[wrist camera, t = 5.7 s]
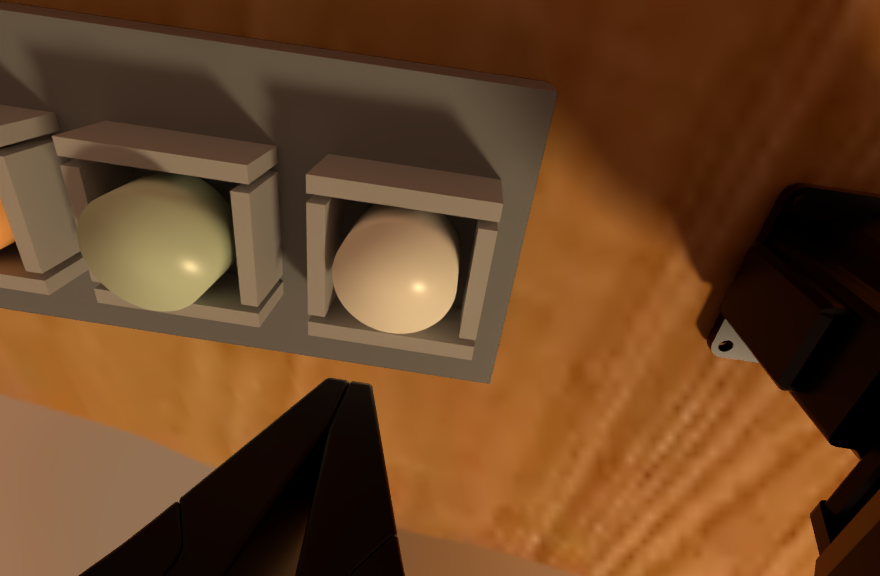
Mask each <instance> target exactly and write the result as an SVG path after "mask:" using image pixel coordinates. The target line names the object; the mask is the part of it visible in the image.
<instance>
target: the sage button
mask: <svg viewBox="0 0 880 576" xmlns="http://www.w3.org/2000/svg"><path fill="white" fill-rule="evenodd" d="M77 240H78V245H79V249H80V251H81V254H82V256H83V258H84V261H85V262H86V264H87V266H88V267H89V269H90V270H91V272H92V273H93V274H94V276H95V277H96V278H97V279H98V280H99V281H100V282H101V283H102V284H103V285H104V286H105V287H106V288H107V289H109V290H110V291H111V292H112V293H114V294H115V295H117V296H118V297H120V298H121V299H123V300H125V301H127V302H129V303H131V304H133V305H136V306H138V307H141V308H144V309H148V310H153V311H162V312H164V311H176V310H180V309H183V308H185V307H188V306H190V305H191V304H193V303H194V302H195V301H196V300H197V299H198V298H199V297H200V296H201V295H202V294H203V293H204V292H205V291H206V290H207V289H208V288H209V287H210V286H211V285H212V284H213V283H214V282H215V281H216V280H217V279H218V278H219V277H220V276H221V275H222V274H223V273H224V272H225V271H226V270H227V269H229V268H230V267H231V266H232V265H233V263H234V262H235V260H236V259H237V257H236V246H235V236H234V226H233V216H232V208H231V206H230V205H229V204H228V202H227V201H226V200H225V198H224V197H223V196H222V195H221V194H220V193H219V192H218V191H217V190H216V189H215V188H213V187H212V186H211V185H209V184H208V183H207V182H205V181H203V180H202V179H200V178H198V177H195V176H189V175H182V174H176V173H169V172H162V171H154V172H151V173H148V174H146V175H144V176H142V177H140V178H138V179H136V180H133V181H131V182H129V183H127V184H125V185H123V186H121V187H119V188H117V189H115V190H113V191H110V192H108V193H106V194H104V195H102V196H100V197H98V198H96V199H94V200H93V201H91V202H90V203H89V204H88V205H87V206H86V207H85V208H84V210H83V211H82V213H81V215H80V217H79V220H78V224H77Z"/></svg>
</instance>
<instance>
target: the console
mask: <svg viewBox="0 0 880 576" xmlns="http://www.w3.org/2000/svg"><path fill="white" fill-rule="evenodd" d="M557 93H558V92H557V90H556V89H555V88H554V87H553V86H552V85H551V83H550V82H545V81H538V80H531V79H525V78H518V77H511V76H504V75H498V74H491V73H484V72H477V71H470V70H464V69H457V68H450V67H443V66H436V65H430V64H423V63H416V62H409V61H403V60H396V59H389V58H382V57H375V56H369V55H362V54H355V53H348V52H341V51H335V50H328V49H321V48H314V47H307V46H301V45H294V44H287V43H280V42H274V41H267V40H260V39H253V38H246V37H240V36H233V35H226V34H219V33H212V32H206V31H199V30H192V29H185V28H179V27H172V26H165V25H158V24H151V23H145V22H138V21H131V20H124V19H117V18H111V17H104V16H97V15H90V14H84V13H77V12H70V11H63V10H56V9H50V8H43V7H36V6H29V5H22V4H16V3H9V2H2V1H0V147H2V146H4V147H6V148H3V149H0V199H1V202H2V205H3V207H4V210H5V213H6V216H7V219H8V222H9V225H10V227H11V230H12V233H13V236H14V239H15V242H14V243H12V244H10V245H8V246H6V247H4V248H2V249H0V308H3V309H10V310H16V311H23V312H29V313H36V314H42V315H48V316H55V317H61V318H68V319H74V320H81V321H87V322H94V323H100V324H107V325H113V326H119V327H126V328H132V329H139V330H145V331H152V332H158V333H165V334H171V335H177V336H184V337H190V338H197V339H203V340H210V341H216V342H223V343H229V344H236V345H242V346H248V347H255V348H261V349H268V350H274V351H281V352H287V353H294V354H300V355H306V356H313V357H319V358H326V359H332V360H339V361H345V362H352V363H358V364H365V365H371V366H377V367H384V368H390V369H397V370H403V371H410V372H416V373H423V374H429V375H436V376H442V377H448V378H455V379H461V380H468V381H474V382H481V383H487V384H490V380H491V376H492V372H493V368H494V363H495V359H496V355H497V350H498V346H499V342H500V338H501V333H502V329H503V325H504V320H505V316H506V312H507V308H508V303H509V299H510V295H511V290H512V286H513V282H514V278H515V273H516V269H517V265H518V260H519V256H520V252H521V248H522V243H523V239H524V235H525V230H526V226H527V222H528V218H529V213H530V209H531V205H532V200H533V196H534V192H535V188H536V183H537V179H538V175H539V170H540V166H541V162H542V158H543V153H544V149H545V145H546V140H547V136H548V132H549V128H550V123H551V119H552V115H553V110H554V106H555V102H556V98H557ZM154 171H162V172H169V173H176V174H182V175H189V176H195V177H198V178H200V179H202V180H203V181H205V182H207V183H208V184H209V185H211V186H212V187H213V188H215V189H216V190H217V191H218V192H219V193H220V194H221V195H222V196H223V197H224V198H225V200H226V201H227V202H228V204H229V205H230V206H231V208H232V216H233V226H234V236H235V246H236V257H237V259H236V260H235V262H234V263H233V265H232V266H231V267H230V268H229V269H227V270H226V271H225V272H224V273H223V274H222V275H221V276H220V277H219V278H218V279H217V280H216V281H215V282H214V283H213V284H212V285H211V286H210V287H209V288H208V289H207V290H206V291H205V292H204V293H203V294H202V295H201V296H200V297H199V298H198V299H197V300H196V301H195V302H194V303H193V304H191V305H190V306H188V307H185V308H183V309H180V310H176V311H164V312H162V311H153V310H148V309H144V308H141V307H138V306H136V305H133V304H131V303H129V302H127V301H125V300H123V299H121V298H120V297H118V296H117V295H115V294H114V293H112V292H111V291H110V290H109V289H107V288H106V287H105V286H104V285H103V284H102V283H101V282H100V281H99V280H98V279H97V278H96V277H95V276H94V274H93V273H92V272H91V270H90V269H89V267H88V266H87V264H86V262H85V261H84V258H83V256H82V254H81V251H80V249H79V245H78V240H77V224H78V220H79V217H80V215H81V213H82V211H83V210H84V208H85V207H86V206H87V205H88V204H89V203H90V202H91V201H93V200H94V199H96V198H98V197H100V196H102V195H104V194H106V193H108V192H110V191H113V190H115V189H117V188H119V187H121V186H123V185H125V184H127V183H129V182H131V181H133V180H136V179H138V178H140V177H142V176H144V175H146V174H148V173H151V172H154ZM373 204H381V205H388V206H394V207H401V208H407V209H414V210H421V211H427V212H434V213H441V214H445V215H446V216H447V218H448V219H449V220H450V221H451V223H452V224H453V226H454V228H455V229H456V231H457V234H458V237H459V241H460V246H461V256H460V265H459V274H458V283H457V292H456V296H455V299H454V302H453V304H452V306H451V308H450V309H449V311H448V312H447V313H446V315H445V316H444V317H443V318H442V319H441V320H440V321H438V322H437V323H435V324H434V325H432V326H430V327H429V328H427V329H424V330H421V331H418V332H414V333H406V334H395V333H387V332H383V331H379V330H376V329H373V328H371V327H369V326H367V325H365V324H363V323H362V322H360V321H359V320H357V319H356V318H355V317H354V316H352V315H351V314H350V313H349V312H348V311H347V309H346V308H345V307H344V306H343V304H342V303H341V301H340V300H339V298H338V296H337V294H336V291H335V288H334V285H333V280H332V268H333V262H334V258H335V256H336V253H337V251H338V250H339V248H340V246H341V245H342V243H343V242H344V240H345V238H346V237H347V235H348V234H349V232H350V230H351V229H352V227H353V226H354V224H355V222H356V221H357V219H358V218H359V216H360V215H361V214H362V213H363V212H364V211H365V210H366V209H367V208H368V207H370V206H371V205H373Z"/></svg>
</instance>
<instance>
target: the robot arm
mask: <svg viewBox="0 0 880 576" xmlns="http://www.w3.org/2000/svg"><path fill="white" fill-rule="evenodd" d="M801 195H804V197H803V200H802V201H801V203H800V204H798V205H796V206H792V205H793V201H794V200H795V199H796V198H797V197H799V196H801ZM720 311H721V312H720V314H719V316H718V318H717V320H716V322H715V324H714V326H713V328H712V330H711V332H710V334H709V336H708V339H707V345H708V347H709V348H710V350H711V351H712V353H713V354H714V355H716V356H719V357H724V358H730V359H737V360H743V361H750V362H756V363H760V364H761V366H762V367H763V368H764V370H765V371H766V372H767V374H768V375H769V376H770V377H771V379H772V380H773V381H774V383H775V384H776V385H777V386H778V388H780V389H781V390H784V391H789V393H790V394H791V395H792V396H793V398H794V399H795V400H796V401H797V403H798V404H799V405H800V406H801V408H802V409H803V410H804V412H805V413H806V414H807V415H808V417H809V418H810V419H811V420H812V422H813V423H814V424H815V425H816V427H817V428H818V429H819V431H820V432H821V433H822V434H823V436H824V437H825V438H826V439H827V441H828V442H829V443H830V444H831V445H833V446H835V447H841V448H847V449H851V450H852V451H853V453H854V454H855V455H856V456H857V457H858V459H859V460H860V461H859V462H858V463H857V465H856V466H855V467H854V468H853V470H852V471H851V472H850V473H849V474H848V476H847V477H846V478H845V479H844V480H843V482H842V483H841V484H840V485H839V486H838V488H837V489H836V490H835V491H834V492H833V494H832V495H831V496H830V497H829V499H828V500H827V501H826V500H822V501H820V502H819V503H818V505H817V506H816V507H815V508H814V510H813V511H812V512H811V513H810V518H811V522H812V526H813V530H814V534H815V538H816V542H817V546H818V550H819V555H820V556H819V557H818V558H817V559H816V565H815V575H814V576H880V195H879V194H873V193H866V192H859V191H852V190H846V189H839V188H832V187H826V186H819V185H812V184H805V183H795V184H793V185H790V186H788V187H787V188H785V189H784V190H783V191H782V192H781V194H780V195H779V196H778V198H777V200H776V202H775V204H774V206H773V208H772V210H771V212H770V214H769V216H768V218H767V220H766V222H765V224H764V226H763V228H762V230H761V232H760V234H759V236H758V238H757V240H756V242H755V244H754V245H753V246H752V247H751V248H750V249H749V250H748V252H747V254H746V256H745V258H744V260H743V262H742V264H741V266H740V268H739V270H738V272H737V274H736V276H735V278H734V281H733V283H732V285H731V287H730V289H729V291H728V293H727V295H726V297H725V299H724V301H723V303H722V305H721V307H720ZM727 340H728V342H727V343H726V344H723V345H719V344H720V343H721V342H723V341H727ZM179 502H180V504H179V503H178V502H175V503H174V504H173V505H171V506H170V507H169V508H167V509H166V510H165V511H164V512H163V513H161V514H160V515H159V516H158V517H156V518H155V519H154V520H153V521H152V522H150V523H149V524H148V525H146V526H145V527H144V528H142V529H141V530H140V531H138V532H137V533H136V534H135V535H133V536H132V537H131V538H130V539H128V540H127V541H126V542H124V543H123V544H122V545H121V546H119V547H118V548H116V549H115V550H113V551H112V552H111V553H110V554H108V555H107V556H105V557H104V558H102V559H101V560H100V561H98V562H97V563H95V564H94V565H93V566H91V567H90V568H88V569H87V570H86V571H84V572H83V573H82V574H80V575H79V576H405V573H404V568H403V563H402V559H401V553H400V547H399V541H398V537H397V530H396V524H395V518H394V513H393V507H392V501H391V495H390V489H389V483H388V477H387V471H386V465H385V459H384V454H383V448H382V442H381V436H380V430H379V424H378V418H377V412H376V406H375V401H374V395H373V389H372V386H371V385H370V384H368V383H361V382H355V381H352V382H351V383H350V384H349V382H348V381H347V380H342V379H335V378H328V379H326V380H324V381H323V382H322V383H321V384H319V385H318V386H317V387H316V388H315V389H313V390H312V391H311V392H310V393H308V394H307V395H306V396H305V397H303V398H302V399H301V400H300V401H299V402H297V403H296V404H295V405H294V406H292V407H291V408H290V409H289V410H288V411H286V412H285V413H284V414H283V415H281V416H280V417H279V418H278V419H277V420H275V421H274V422H273V423H272V424H270V425H269V426H268V427H267V428H266V429H264V430H263V431H262V432H261V433H259V434H258V435H257V436H256V437H255V438H253V439H252V440H251V441H250V442H248V443H247V444H246V445H245V446H244V447H242V448H241V449H240V450H239V451H237V452H236V453H235V454H234V455H233V456H231V457H230V458H229V459H228V460H226V461H225V462H224V463H223V464H222V465H220V466H219V467H218V468H217V469H215V470H214V471H213V472H212V473H211V474H209V475H208V476H207V477H206V478H205V479H203V480H202V481H201V482H200V483H199V484H197V485H196V486H195V487H194V488H192V489H191V490H190V491H188V492H187V493H186V494H185V495H184V496H182V497H181V498H180V501H179Z"/></svg>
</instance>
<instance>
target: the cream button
mask: <svg viewBox="0 0 880 576" xmlns="http://www.w3.org/2000/svg"><path fill="white" fill-rule="evenodd" d="M460 256H461V246H460V241H459V237H458V234H457V231H456V229H455V228H454V226H453V224H452V223H451V221H450V220H449V219H448V218H447V216H446V215H445V214H441V213H434V212H427V211H421V210H414V209H407V208H401V207H394V206H388V205H381V204H373V205H371V206H370V207H368V208H367V209H366V210H365V211H364V212H363V213H362V214H361V215H360V216H359V218H358V219H357V221H356V222H355V224H354V226H353V227H352V229H351V230H350V232H349V234H348V235H347V237H346V238H345V240H344V242H343V243H342V245H341V246H340V248H339V250H338V251H337V253H336V256H335V258H334V262H333V268H332V280H333V285H334V288H335V291H336V294H337V296H338V298H339V300H340V301H341V303H342V304H343V306H344V307H345V308H346V309H347V311H348V312H349V313H350V314H351V315H352V316H354V317H355V318H356V319H357V320H359V321H360V322H362V323H363V324H365V325H367V326H369V327H371V328H373V329H376V330H379V331H383V332H387V333H395V334H406V333H414V332H418V331H421V330H424V329H427V328H429V327H430V326H432V325H434V324H435V323H437V322H438V321H440V320H441V319H442V318H443V317H444V316H445V315H446V313H447V312H448V311H449V309H450V308H451V306H452V304H453V302H454V299H455V296H456V292H457V283H458V274H459V265H460Z"/></svg>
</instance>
